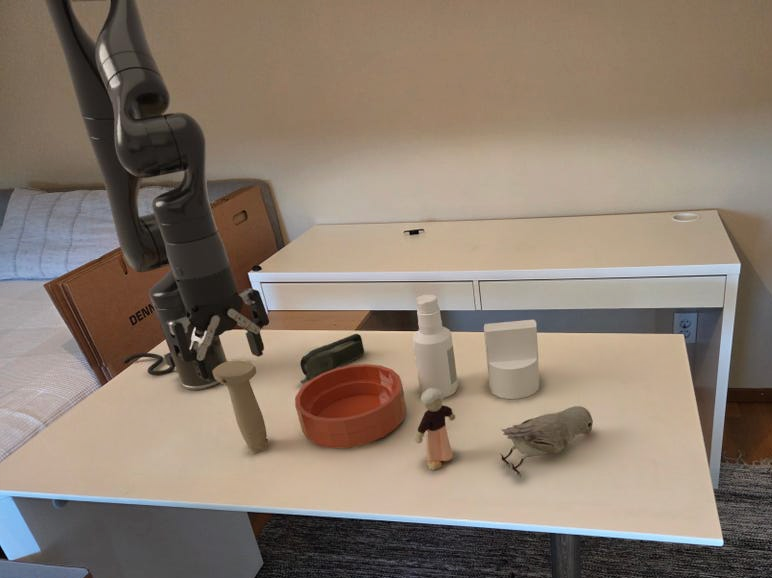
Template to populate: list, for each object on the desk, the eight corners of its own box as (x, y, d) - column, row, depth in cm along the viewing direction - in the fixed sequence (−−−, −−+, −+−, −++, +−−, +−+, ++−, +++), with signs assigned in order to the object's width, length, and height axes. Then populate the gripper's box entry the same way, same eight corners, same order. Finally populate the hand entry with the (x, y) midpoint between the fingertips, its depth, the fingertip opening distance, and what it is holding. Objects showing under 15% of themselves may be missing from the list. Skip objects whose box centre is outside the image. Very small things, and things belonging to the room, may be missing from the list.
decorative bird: (601, 441, 97) (602, 400, 94) (516, 483, 91) (512, 441, 87) (579, 425, 101) (578, 385, 98) (495, 464, 95) (491, 423, 91)
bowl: (282, 430, 108) (273, 400, 105) (359, 383, 120) (353, 355, 117) (350, 465, 98) (342, 433, 95) (427, 410, 109) (423, 380, 106)
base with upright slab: (536, 370, 118) (533, 312, 112) (542, 396, 110) (539, 335, 104) (488, 375, 118) (482, 316, 112) (490, 401, 110) (484, 340, 104)
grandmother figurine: (437, 477, 93) (426, 405, 87) (417, 470, 95) (404, 399, 89) (466, 448, 99) (457, 378, 93) (446, 442, 101) (436, 373, 95)
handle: (265, 459, 101) (240, 378, 94) (233, 453, 103) (206, 374, 96) (283, 441, 105) (260, 362, 98) (252, 436, 107) (227, 358, 100)
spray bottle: (466, 386, 115) (455, 295, 106) (438, 403, 111) (425, 310, 102) (440, 375, 119) (427, 287, 110) (413, 391, 115) (398, 301, 106)
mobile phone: (355, 330, 129) (290, 358, 120) (364, 334, 127) (298, 362, 118) (359, 352, 131) (295, 381, 122) (367, 356, 129) (304, 386, 120)
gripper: (231, 247, 96) (259, 342, 104) (139, 279, 86) (177, 381, 94) (259, 254, 91) (286, 352, 99) (166, 289, 82) (204, 395, 90)
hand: (233, 366), depth 97 cm, fingers open, 8 cm apart
